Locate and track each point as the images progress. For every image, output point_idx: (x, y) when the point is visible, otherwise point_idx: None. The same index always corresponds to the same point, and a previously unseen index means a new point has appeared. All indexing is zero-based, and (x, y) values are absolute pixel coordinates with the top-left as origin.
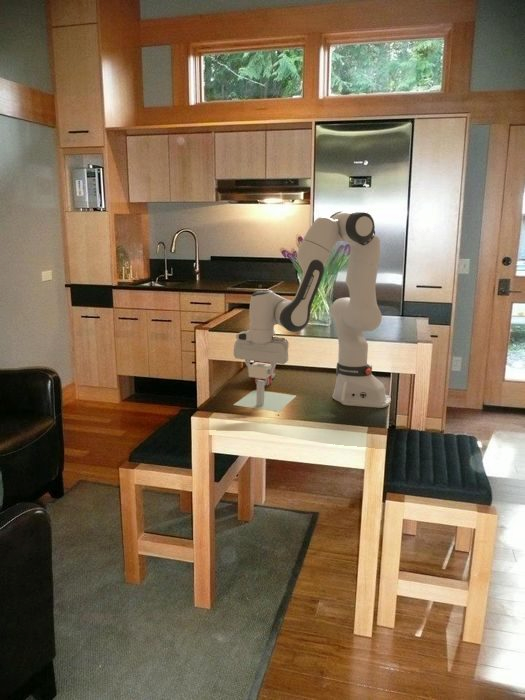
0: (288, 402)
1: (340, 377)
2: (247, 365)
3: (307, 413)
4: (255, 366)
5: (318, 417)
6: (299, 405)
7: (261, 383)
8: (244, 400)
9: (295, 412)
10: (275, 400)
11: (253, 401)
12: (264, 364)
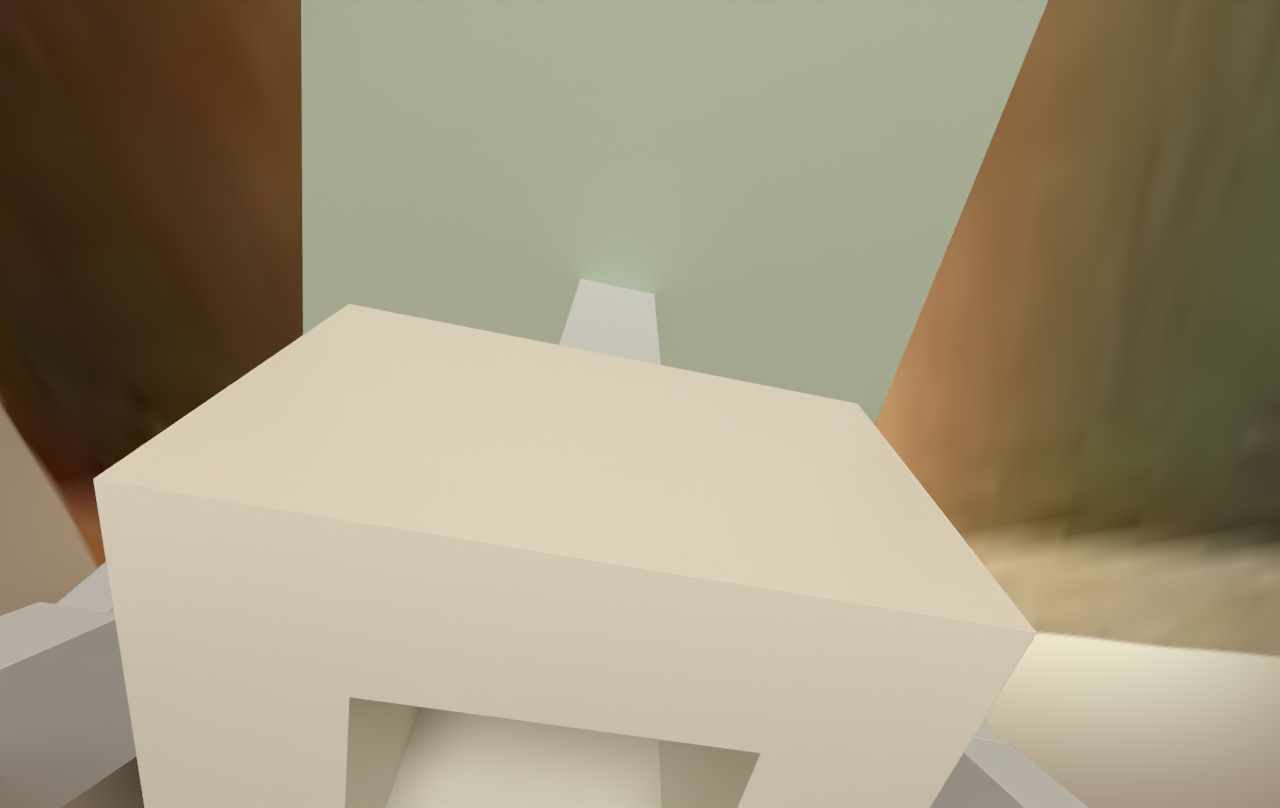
0: (972, 161)
1: None
2: (19, 794)
3: (1141, 356)
4: None
5: (1228, 443)
6: (1102, 83)
7: None
8: (369, 208)
9: (1011, 352)
10: (789, 107)
11: (498, 224)
12: (674, 731)
